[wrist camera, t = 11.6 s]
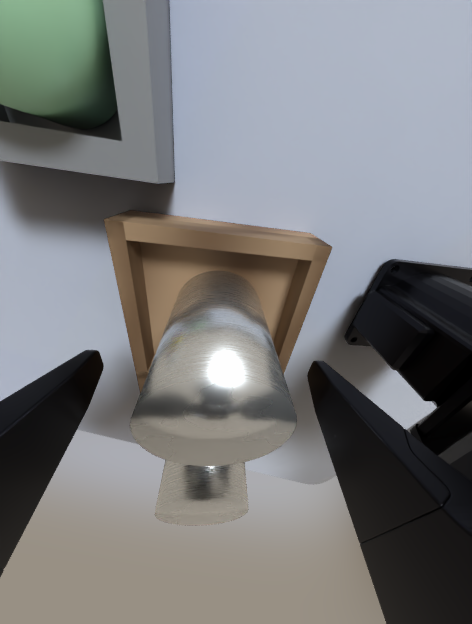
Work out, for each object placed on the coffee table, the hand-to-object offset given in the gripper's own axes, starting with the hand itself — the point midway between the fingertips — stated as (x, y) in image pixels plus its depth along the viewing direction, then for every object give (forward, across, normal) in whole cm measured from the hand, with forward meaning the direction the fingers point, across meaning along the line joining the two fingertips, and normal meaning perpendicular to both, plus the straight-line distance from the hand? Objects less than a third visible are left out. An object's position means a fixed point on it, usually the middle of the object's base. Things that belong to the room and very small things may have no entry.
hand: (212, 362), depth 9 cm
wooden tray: (+5, 0, +4) cm, 7 cm away
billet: (+4, 0, 0) cm, 4 cm away
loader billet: (+4, 0, +9) cm, 10 cm away
